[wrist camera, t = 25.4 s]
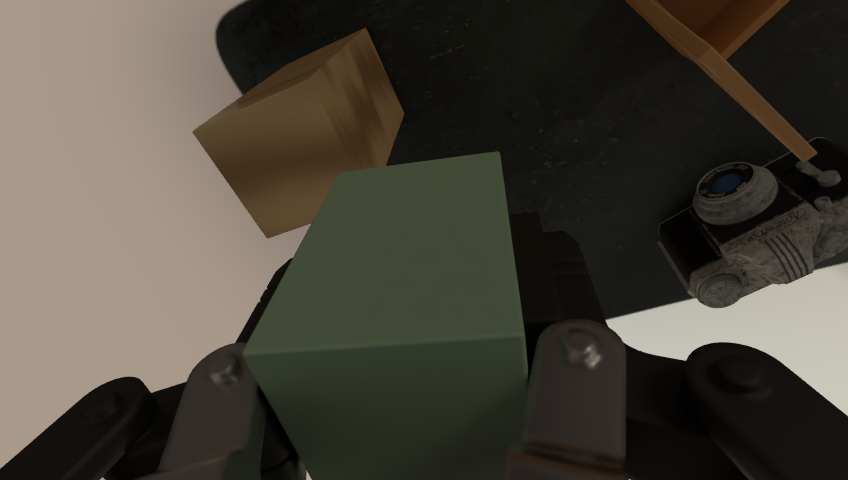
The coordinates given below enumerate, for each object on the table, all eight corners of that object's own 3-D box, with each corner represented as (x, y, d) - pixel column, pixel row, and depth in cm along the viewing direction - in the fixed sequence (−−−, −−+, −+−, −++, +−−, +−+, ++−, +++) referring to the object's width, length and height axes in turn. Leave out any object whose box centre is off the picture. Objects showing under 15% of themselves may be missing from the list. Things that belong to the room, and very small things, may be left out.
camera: (816, 97, 34) (928, 148, 26) (845, 162, 37) (955, 228, 29) (631, 205, 40) (673, 275, 32) (666, 255, 43) (714, 332, 35)
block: (338, 171, 12) (239, 353, 7) (499, 149, 11) (525, 334, 6) (375, 294, 14) (322, 500, 9) (512, 282, 13) (538, 498, 8)
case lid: (711, 46, 18) (697, 59, 18) (818, 153, 20) (804, 163, 20) (641, -8, 27) (632, 1, 27) (719, 70, 29) (710, 77, 29)
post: (287, 64, 36) (191, 131, 24) (366, 27, 34) (307, 79, 22) (330, 143, 39) (266, 239, 27) (404, 113, 38) (372, 202, 25)
